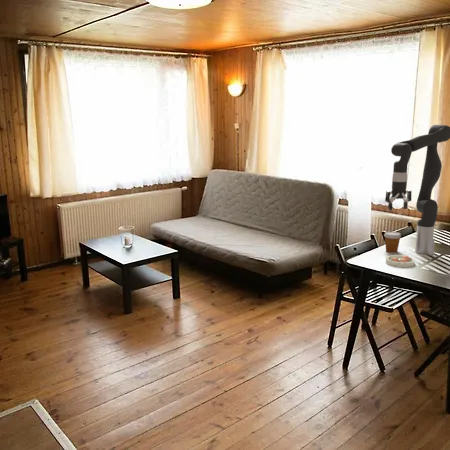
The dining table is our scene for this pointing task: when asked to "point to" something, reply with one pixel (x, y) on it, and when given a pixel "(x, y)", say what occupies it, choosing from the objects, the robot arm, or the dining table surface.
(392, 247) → the disposable coffee cup
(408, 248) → the dining table surface
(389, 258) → the ring tray
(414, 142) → the robot arm
